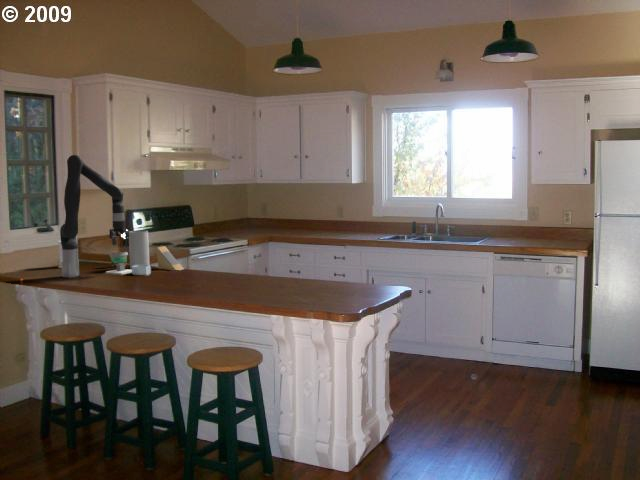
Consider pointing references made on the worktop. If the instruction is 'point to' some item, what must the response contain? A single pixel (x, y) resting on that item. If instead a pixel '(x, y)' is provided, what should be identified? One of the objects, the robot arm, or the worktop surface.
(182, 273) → the worktop surface
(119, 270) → the lid
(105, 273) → the mat
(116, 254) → the food container
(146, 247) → the cylinder vase
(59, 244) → the decorative container
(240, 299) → the worktop surface
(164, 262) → the sandwich container
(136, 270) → the pale blue block
